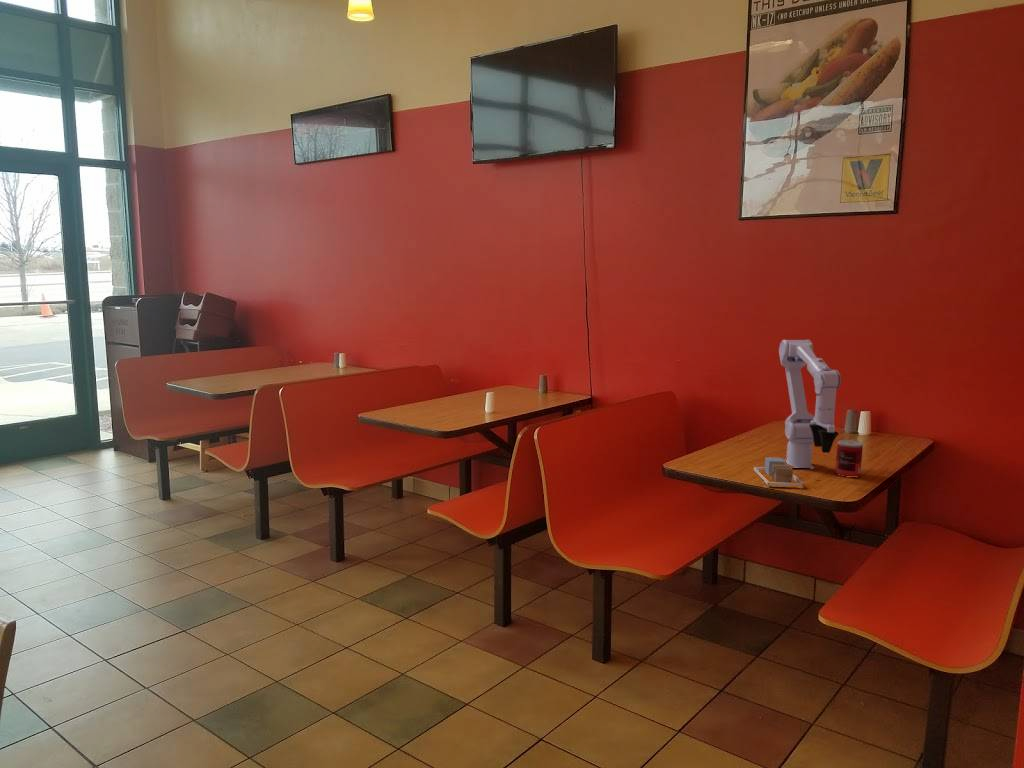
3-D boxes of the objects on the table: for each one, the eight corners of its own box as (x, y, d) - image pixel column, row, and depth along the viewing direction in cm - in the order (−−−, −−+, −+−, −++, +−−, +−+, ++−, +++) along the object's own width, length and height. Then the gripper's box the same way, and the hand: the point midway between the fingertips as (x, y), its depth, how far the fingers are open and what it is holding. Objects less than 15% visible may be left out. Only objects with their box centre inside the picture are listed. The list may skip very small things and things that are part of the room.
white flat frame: (753, 471, 260) (753, 466, 260) (786, 472, 259) (787, 467, 259) (767, 487, 242) (767, 482, 242) (803, 488, 241) (803, 483, 241)
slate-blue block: (764, 471, 258) (765, 457, 257) (779, 472, 258) (780, 457, 257) (768, 476, 253) (769, 461, 252) (784, 476, 253) (785, 461, 252)
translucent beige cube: (771, 479, 249) (772, 464, 248) (787, 480, 249) (788, 464, 248) (775, 484, 244) (776, 468, 244) (791, 484, 244) (792, 469, 243)
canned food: (853, 471, 261) (856, 439, 259) (864, 478, 253) (867, 445, 251) (830, 471, 261) (833, 439, 259) (841, 478, 253) (844, 445, 251)
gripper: (805, 403, 255) (802, 443, 258) (819, 412, 241) (816, 454, 243) (827, 403, 255) (824, 444, 257) (843, 412, 241) (839, 455, 243)
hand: (821, 449), depth 250 cm, fingers open, 7 cm apart
